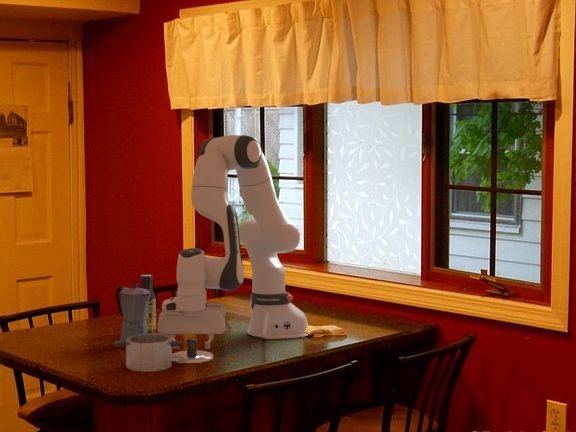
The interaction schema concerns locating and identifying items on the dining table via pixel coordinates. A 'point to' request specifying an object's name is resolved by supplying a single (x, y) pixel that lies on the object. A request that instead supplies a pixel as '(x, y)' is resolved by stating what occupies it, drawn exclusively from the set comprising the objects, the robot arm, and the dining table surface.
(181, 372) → the dining table surface
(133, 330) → the moka pot
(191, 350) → the lid
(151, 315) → the sauce bottle
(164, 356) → the pot
